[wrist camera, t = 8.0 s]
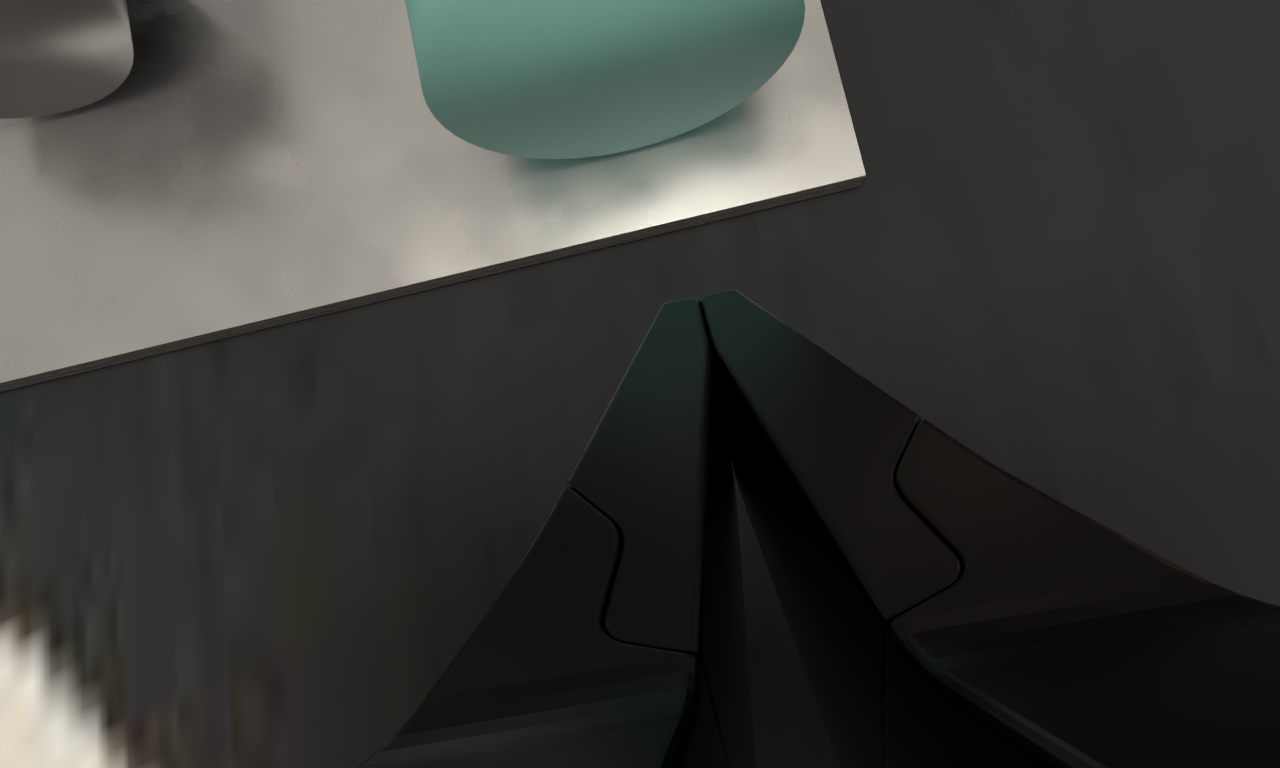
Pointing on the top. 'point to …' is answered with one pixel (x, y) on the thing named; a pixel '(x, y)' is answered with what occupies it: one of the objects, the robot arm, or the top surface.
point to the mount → (336, 183)
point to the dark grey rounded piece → (61, 54)
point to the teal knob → (593, 68)
